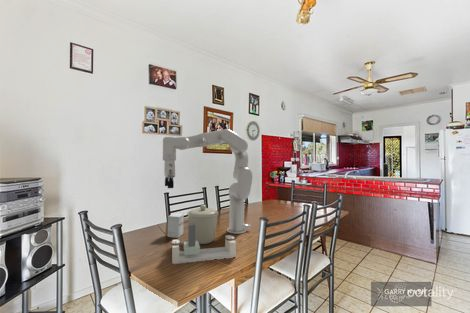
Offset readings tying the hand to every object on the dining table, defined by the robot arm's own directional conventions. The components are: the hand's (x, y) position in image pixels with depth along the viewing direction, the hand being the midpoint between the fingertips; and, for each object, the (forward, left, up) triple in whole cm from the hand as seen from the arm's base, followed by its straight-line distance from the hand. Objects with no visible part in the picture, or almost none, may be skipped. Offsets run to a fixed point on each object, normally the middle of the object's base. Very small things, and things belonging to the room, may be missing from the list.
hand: (169, 186), depth 137 cm
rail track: (-17, +28, -31) cm, 45 cm away
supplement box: (-4, -5, -31) cm, 32 cm away
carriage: (-11, +28, -27) cm, 41 cm away
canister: (-19, +8, -31) cm, 37 cm away
